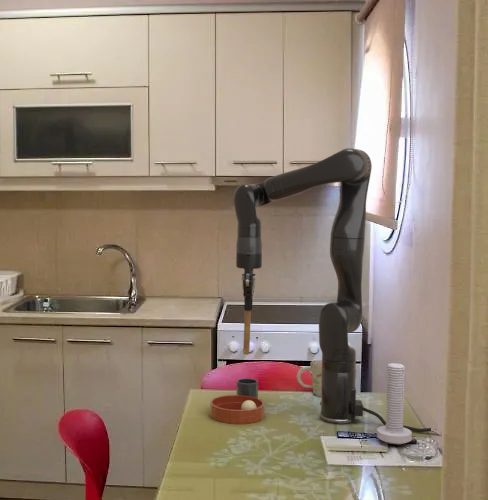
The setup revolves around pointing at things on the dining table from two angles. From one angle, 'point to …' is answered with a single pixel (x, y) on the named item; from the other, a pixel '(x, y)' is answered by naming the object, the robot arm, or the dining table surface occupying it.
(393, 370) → the screw
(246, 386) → the tube
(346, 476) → the dining table surface
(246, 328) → the stick
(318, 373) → the mug
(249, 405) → the dough ball
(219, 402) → the bowl
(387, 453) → the dining table surface
